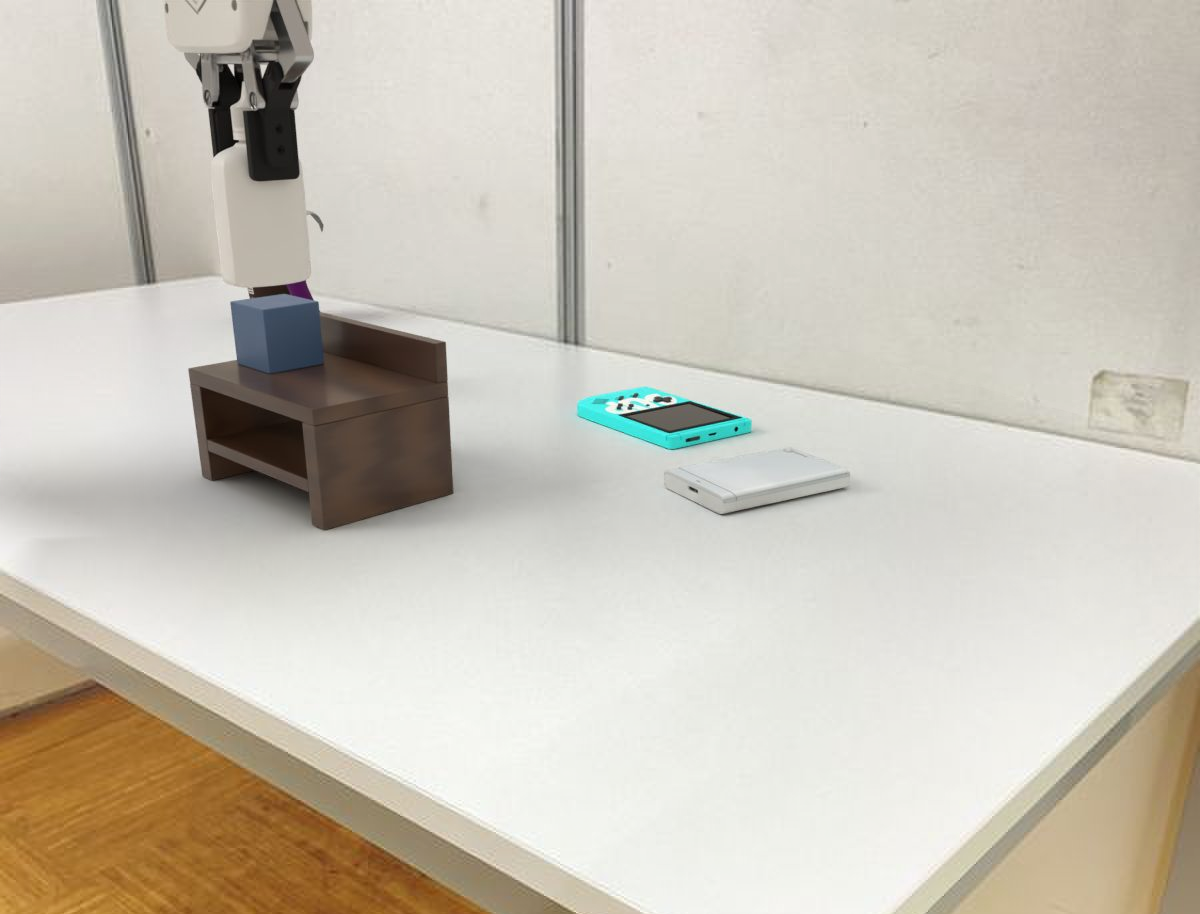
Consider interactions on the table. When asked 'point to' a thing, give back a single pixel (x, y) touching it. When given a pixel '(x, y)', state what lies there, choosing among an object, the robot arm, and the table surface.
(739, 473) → the hard drive
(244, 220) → the eye dropper bottle
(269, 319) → the blue block
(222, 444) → the rack
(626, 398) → the handheld game console
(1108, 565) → the table surface
